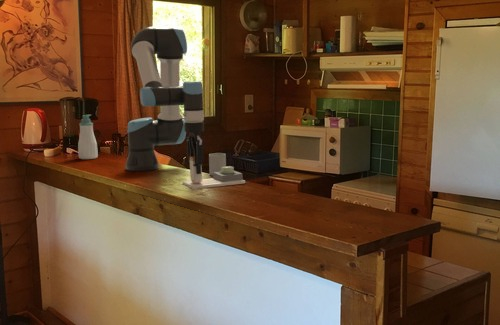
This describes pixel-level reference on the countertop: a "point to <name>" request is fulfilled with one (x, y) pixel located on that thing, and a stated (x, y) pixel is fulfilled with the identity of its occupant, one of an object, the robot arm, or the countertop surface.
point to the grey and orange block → (192, 162)
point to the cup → (216, 162)
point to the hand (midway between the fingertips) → (196, 181)
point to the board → (217, 180)
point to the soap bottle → (87, 140)
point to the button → (227, 170)
